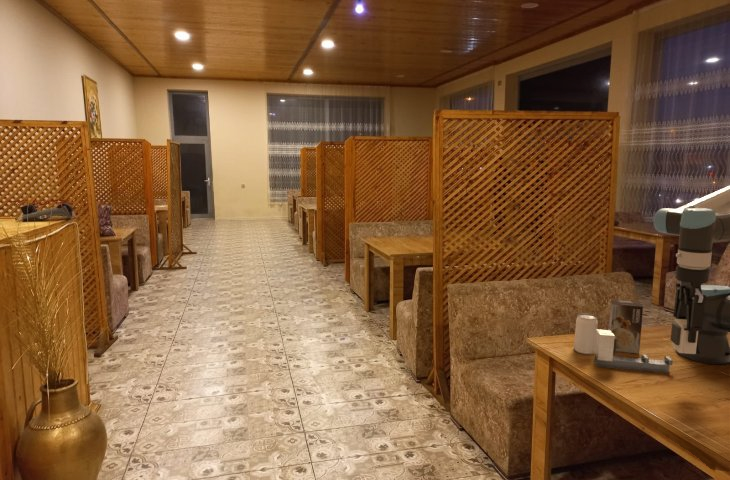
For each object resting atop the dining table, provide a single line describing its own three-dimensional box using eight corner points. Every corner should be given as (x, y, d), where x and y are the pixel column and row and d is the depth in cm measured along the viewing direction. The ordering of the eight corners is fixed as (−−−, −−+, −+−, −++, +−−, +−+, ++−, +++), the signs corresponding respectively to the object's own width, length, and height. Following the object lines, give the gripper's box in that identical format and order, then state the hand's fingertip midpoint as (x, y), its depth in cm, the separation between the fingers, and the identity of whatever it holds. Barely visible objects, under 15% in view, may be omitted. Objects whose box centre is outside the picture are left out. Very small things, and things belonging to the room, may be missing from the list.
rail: (666, 367, 154) (669, 334, 152) (672, 374, 149) (676, 340, 147) (593, 361, 158) (596, 329, 156) (597, 367, 153) (600, 334, 152)
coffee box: (636, 347, 170) (641, 301, 167) (639, 354, 164) (644, 306, 161) (606, 343, 173) (610, 298, 171) (608, 350, 167) (612, 303, 165)
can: (597, 355, 163) (600, 319, 161) (576, 353, 164) (578, 318, 162) (592, 348, 169) (595, 313, 167) (572, 346, 170) (574, 312, 168)
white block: (688, 347, 141) (691, 319, 139) (695, 354, 136) (699, 325, 134) (669, 345, 142) (672, 318, 140) (675, 352, 137) (679, 324, 135)
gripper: (665, 258, 144) (657, 336, 148) (691, 273, 127) (682, 361, 131) (694, 259, 142) (686, 337, 146) (724, 274, 125) (714, 363, 129)
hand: (684, 348), depth 138 cm, fingers closed on white block, 5 cm apart
